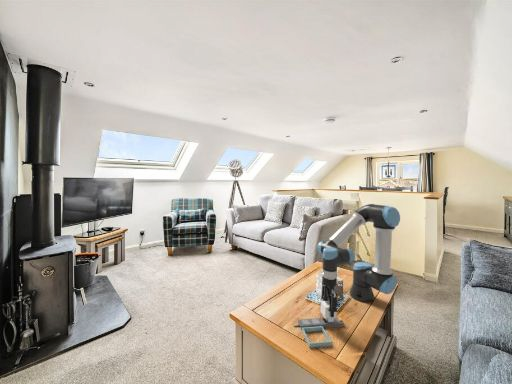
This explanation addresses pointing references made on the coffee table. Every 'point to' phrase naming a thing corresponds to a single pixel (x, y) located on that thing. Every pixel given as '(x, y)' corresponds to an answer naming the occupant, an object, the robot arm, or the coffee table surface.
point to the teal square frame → (316, 344)
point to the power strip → (319, 323)
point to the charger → (326, 309)
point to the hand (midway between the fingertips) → (328, 317)
